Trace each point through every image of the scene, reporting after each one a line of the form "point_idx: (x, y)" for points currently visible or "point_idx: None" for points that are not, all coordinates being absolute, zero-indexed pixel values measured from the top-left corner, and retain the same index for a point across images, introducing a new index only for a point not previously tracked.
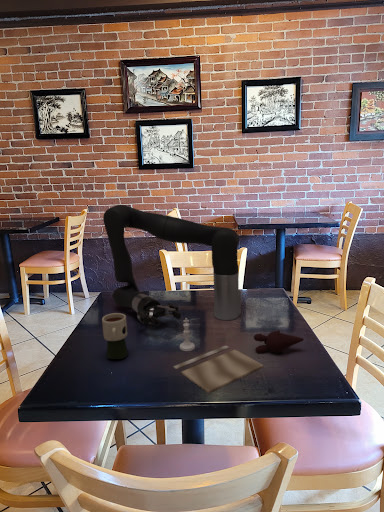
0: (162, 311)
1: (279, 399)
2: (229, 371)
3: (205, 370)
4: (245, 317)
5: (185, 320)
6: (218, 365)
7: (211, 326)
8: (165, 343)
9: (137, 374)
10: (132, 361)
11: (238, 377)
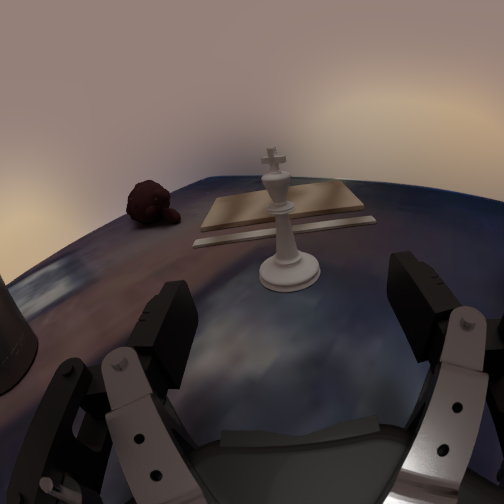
0: (246, 435)
1: None
2: None
3: (314, 200)
4: None
5: (276, 156)
6: None
7: (89, 345)
8: (359, 325)
9: (462, 226)
10: (487, 264)
11: None
